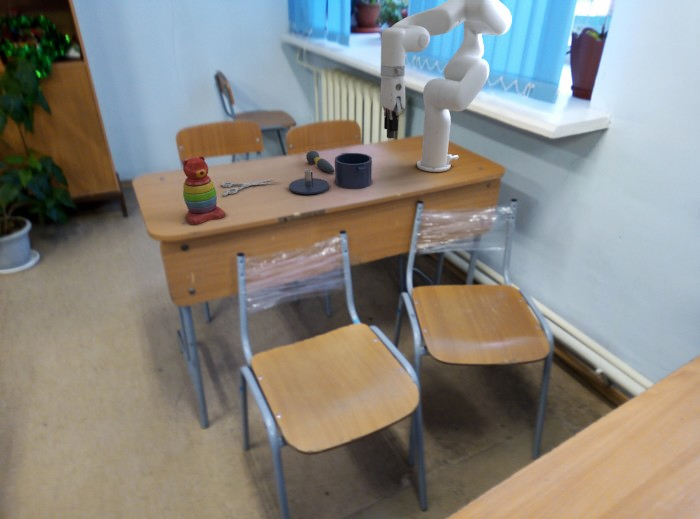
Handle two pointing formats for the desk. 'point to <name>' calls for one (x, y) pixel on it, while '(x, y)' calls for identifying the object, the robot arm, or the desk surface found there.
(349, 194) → the desk surface
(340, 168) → the pot
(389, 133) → the marker
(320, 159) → the grey microphone
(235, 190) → the scissors
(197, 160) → the stacking bear
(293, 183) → the lid
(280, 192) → the desk surface
